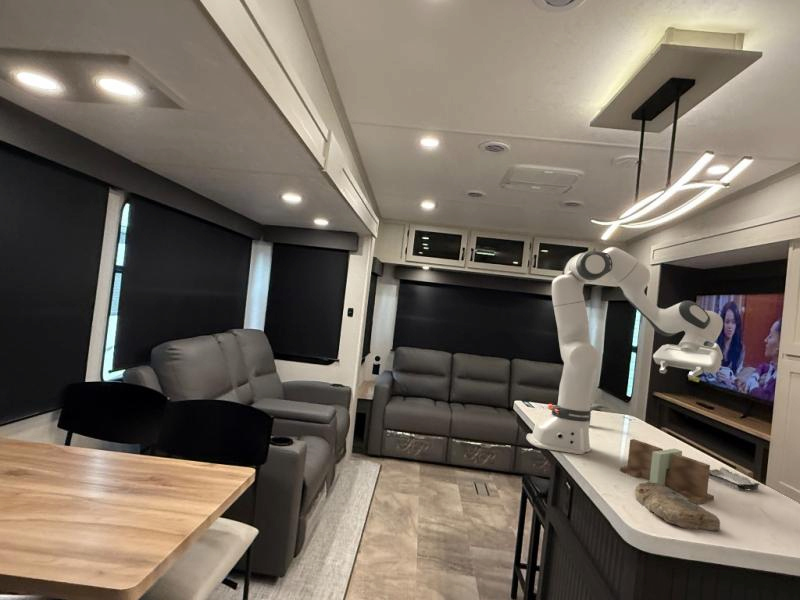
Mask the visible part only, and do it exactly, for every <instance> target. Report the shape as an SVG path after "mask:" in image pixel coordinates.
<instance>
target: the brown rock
mask: <svg viewBox="0 0 800 600" xmlns="http://www.w3.org/2000/svg"><path fill="white" fill-rule="evenodd" d="M634 495H635V497H636V500H637V501H638V502H639V503H640V504H641V506H643V507H644V506H645V507H644V508H645V509H647V510H648V511H650V512H651V513H653V512H654V514H655V515H656V516H658V517H660V518H661V519H662V520H663V519H664V521H665V522H666V523H669V524H671V525H676V526H678V527H680V528H682V529H688V528H689V529H690V530H696V529H698V530H700V529H701V530H706V531H711V532H712V531H713V532H719V531H720V530H721V520H720V518H719V517H718V516H717V514H716V515H715V514H714V513H712V512H710V511H708V510H706V509H704V508H705V507H702V506H700V504H697V503H695V502H694V501H692V500H690V499H688V498H687V497H685V496H683V495H681V494H680V492H677V491H675V490H673V489H670V488H668V487H666V486H664V485H661V484H658V483H652V482H650V481H649V482H646V483H645V482H644V483H638V485H637V486H635V489H634Z"/></svg>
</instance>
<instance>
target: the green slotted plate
mask: <svg viewBox="0 0 800 600" xmlns="http://www.w3.org/2000/svg"><path fill="white" fill-rule="evenodd" d="M672 454H679V455H682V456H683V450H680V449H677V448H670V449H663V450H661V451H655V452H653V453H652V462H651V472H650V480H649V482H652V483H658V484H661V485H664V486H665V477H666V469H670V468H671V458H672Z"/></svg>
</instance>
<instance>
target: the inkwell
mask: <svg viewBox="0 0 800 600" xmlns="http://www.w3.org/2000/svg"><path fill="white" fill-rule="evenodd" d="M599 409H607V410H610V408H609V407H608V406H606V405H604V404H601V403H600V404H599V403H594V404H593V403H592V404H590V411H591V412H592V411H594V410H599Z"/></svg>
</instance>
